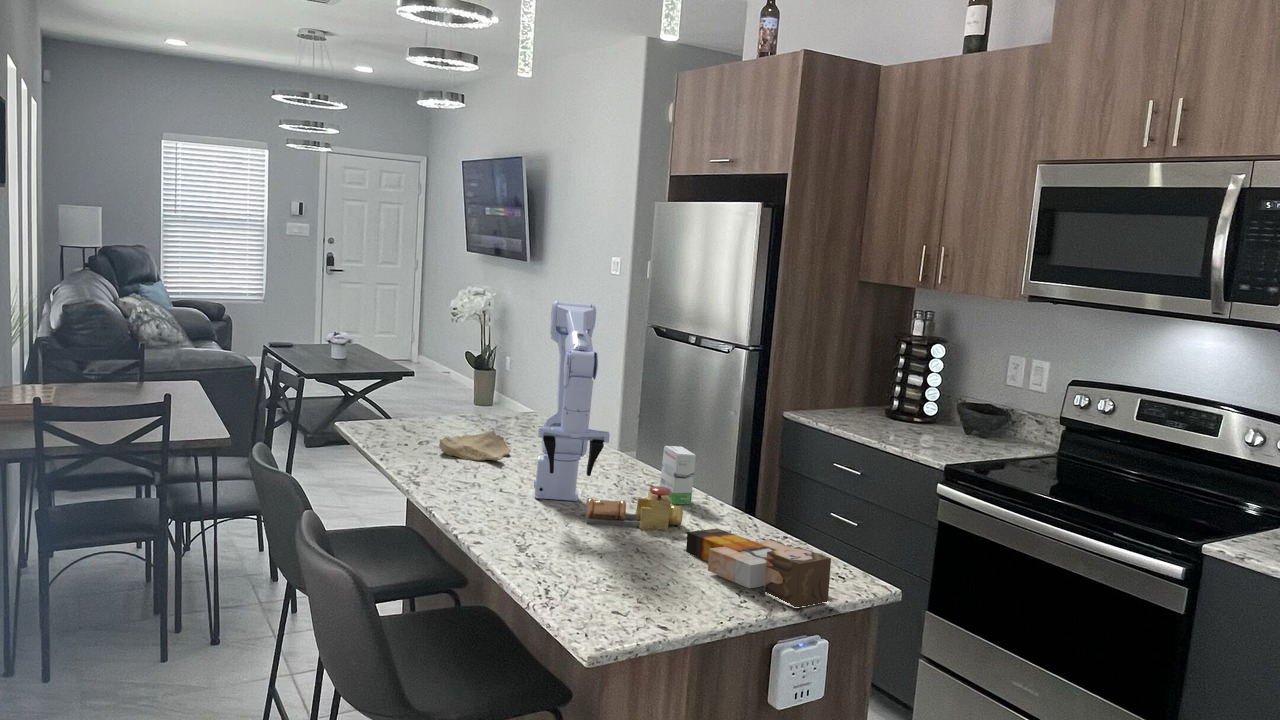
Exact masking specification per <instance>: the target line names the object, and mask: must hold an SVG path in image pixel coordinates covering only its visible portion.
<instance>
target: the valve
mask: <svg viewBox="0 0 1280 720" xmlns="http://www.w3.org/2000/svg"><path fill="white" fill-rule="evenodd" d="M670 492H671V490H670V489H669V488H666V487H660V485H658V486H656V485H655V486H650V487H649V491H648V492H647V497H639V496H638V497H637V501H636V509H635V514H637V519H636V520H639V522H640V523H639V527H638V528H639V529H640V528H642V529H641V530H650V529H655V528H660V529H659V530H668V529H669V525H670V526H682V523H683V513H684V510H683V506H682V505H673V504H672V503H671V501H670V499H669V497H668V495H670ZM671 504H672V505H671Z"/></svg>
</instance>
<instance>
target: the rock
mask: <svg viewBox="0 0 1280 720" xmlns="http://www.w3.org/2000/svg"><path fill="white" fill-rule="evenodd" d="M438 447H439V448H440V450H441V451H442V452H443V453H444V454H446V455H447V456H451V457H456V458H460V459H464V460H467V461H468V460H470V461H471V460H472V461H474V462H475V461H478V462H481V461H486V460H487V461H488V460H489V461H500V460H502V459H503V457H506V456H507V455H510V453H511V451H512V450H511V449H510V448H509V446H508V445H507V442H506V441H505V438H504V437H503V436H501V434H496V432H495V431H493V430H492V431H491V430H490V431H486V432H482V433H479V434H478V433H477V434H463V435H461V436H459V435H456V436H454V437H451V436H449V435H446V436H445V437H443V438H442V439H439V444H438Z"/></svg>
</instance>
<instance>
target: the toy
mask: <svg viewBox="0 0 1280 720" xmlns="http://www.w3.org/2000/svg"><path fill="white" fill-rule="evenodd" d="M686 533H687V535H686V550H685V552H686V553H687V554H689V553H690V555H691V554H692V556H693V555H694V557H695V556H696V558H698V559H699V560H703V561H706V562H707V563H708V564H707V571H708V572H710V573H712V574H715V575H717V576H719V577H722V578H723V579H726V580H729V581H731V582H734V583H736V584H738V585H740V586H743V587H745V588H748V589H754V588H759V587H764V589H763V590H764V591H765V592H767V593H769V594H771V595H773V596H775V597H778V598H779V599H781V600H783V601H785V602H787V603H790V604H791V605H793V606H794V607H802V606H808V605H813V604H818V603H822V602H827V601H828V602H829V594H830V579H831V578H830V577H831V567H832V565H831V564H832V558H831V557H829V556H825V555H824V554H821V553H819V552H818V553H817V552H815V551H812V550H809V549H806V548H803V547H801V546H797V547H796V546H795V547H790V546H788V545H785V544H781V543H779V542H776V541H773V540H770V539H768V540H761V541H760V540H759V541H753V540H751V539H748V538H745V537H743V536H740V535H736V534H733V533H731V532H728V531H726V530H723V529H721V528H709V529H701V530H700V529H699V530H694V531H693V530H692V531H687V532H686ZM764 591H763V592H764ZM818 605H819V604H818ZM813 606H814V605H813Z"/></svg>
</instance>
